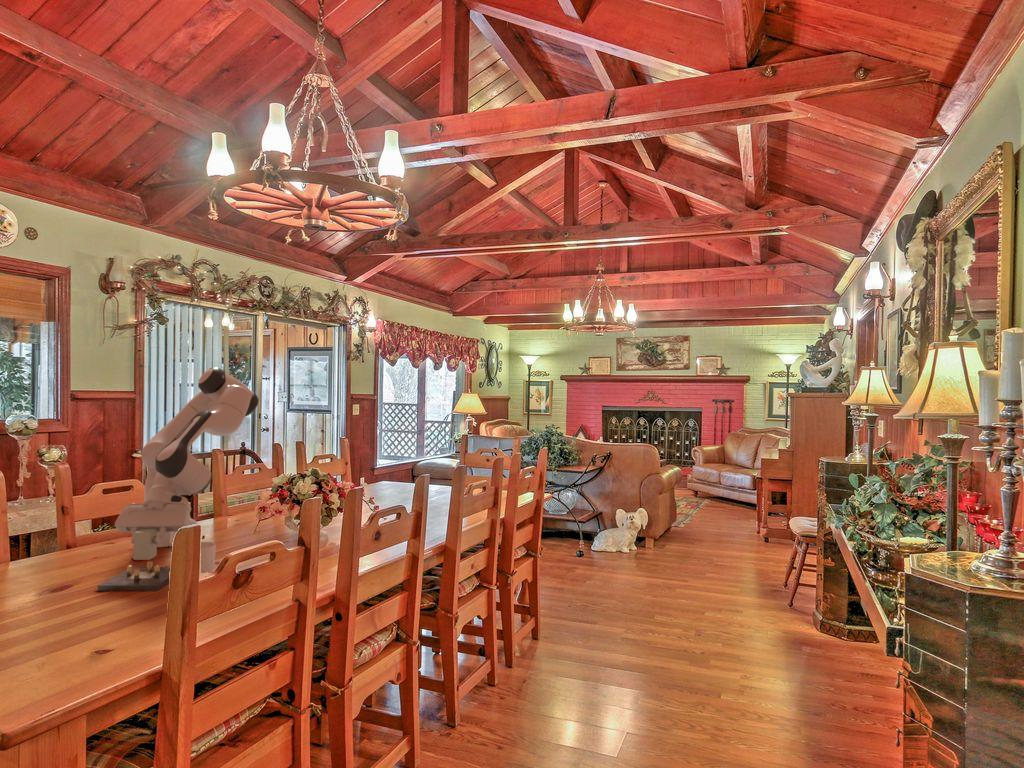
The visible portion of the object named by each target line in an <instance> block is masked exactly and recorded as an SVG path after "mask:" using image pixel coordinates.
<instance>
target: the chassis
mask: <svg viewBox="0 0 1024 768" xmlns="http://www.w3.org/2000/svg"><path fill="white" fill-rule="evenodd" d="M170 567H171V566H161V565H160V564H156V565H154V566H153V561H150V560H149V561H147V563H146V566H133V564H129V565H128V564H127V565H126V569H125V570H123V571H121V572H119V573H118V574H115V575H114V576H112V577H111V578H108V579H107V580H105V581H104V582H102V583H100V584H98V585H97V592H103V591H104V592H111V591H110V590H114V591H115V590H116V591H115V592H121V591H120V590H124V591H123V592H125V590H143V592H151V591H153V592H155V591H156V592H157V591H158V590H160V589H162V588H163V587H164V586H166V585H167V584H168V583H170V582H169V571H170ZM106 590H107V591H106ZM108 590H109V591H108ZM147 590H148V591H147ZM114 591H113V592H114Z"/></svg>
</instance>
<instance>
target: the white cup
mask: <svg viewBox="0 0 1024 768" xmlns="http://www.w3.org/2000/svg"><path fill="white" fill-rule="evenodd" d="M200 542H201V573H206V572H208V573H212V572H213V573H214V568H215V561H216V559H215V558H216V546H217V545H216V544H217V543H216V542H213V541H200ZM209 575H210V574H209ZM205 577H206V576H205Z"/></svg>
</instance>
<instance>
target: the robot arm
mask: <svg viewBox="0 0 1024 768" xmlns="http://www.w3.org/2000/svg"><path fill="white" fill-rule="evenodd" d="M197 384H198V385H197V386H198V389H199V390H200V391H199V392H198V393H197V394H196V395H195V396H193V397H192V398H191V399H190V400H189V401H188V402H187V403H186V404H185V405H184V406H183V408H182V409H181V410H179V412H178V413H177V414H176V415H175V416H174V417H173V418H172V419H170V420H169V421H168V422H167V424H165V425H164V426H163V427H162V428H161V429H160V430H159V431H158V432H156V434H155V435H154V436H152V438H151V439H150V440H149V441H147V443H145V445H144V446H143V448H142V450H141V454H140V455H141V460H142V462H143V464H144V465H145V466H146V467H148V468H147V474H146V478H145V481H144V482H145V483H144V496H143V497H144V501H143V503H135V502H134V503H133V502H132V503H129V504H127V505H125V506H123V508H122V510H121V512H120V514H119V515H118V517H117V518H116V520H115V522H114V526H115V528H116V529H117V531H118V532H121V533H131V536H132V537H131V539H130V543H131V544H132V545H134V532H136V531H138V530H141V529H157V536H153V539H152V542H153V544H157V548H167V547H168V546H169V547H173V546H172V542H173V538H174V535H175V533H176V532H177V531H178V529H179V528H181V527H183V526H188V525H192V524H197V525H198V522H197V521H196V520H195V519H194V518H191V514H190V513H191V511H192V506H191V504H190V502H189V500H188V499H187V498H186V497H185V496H189V495H190V496H191V495H195V494H200V493H203V492H205V491H206V489H207V488H208V487H209V485H210V484H211V481H212V476H213V474H212V471H211V470H210V469H209V468H208V467H207V466H205V465H204V464H205V463H202V462H201V461H200V460H198V459H197V458H196V456H194V455H193V454H192V453H191V451H190V447H191V446H192V445H193V443H194V442H195V441H196V440H197V439H199V437H200V436H201V435H202V434H203V433H206V434H209V435H213V436H218V437H225V436H230V435H232V434H234V433H235V432H236V431H238V430H239V428H240V426H241V424H242V422H243V421H244V418H245V417H248V416H249V415H251V414H252V413H253V412H254V411H255V409H256V408H257V407H258V405H259V401H260V400H259V397H258V395H257V394H256V393H255V392H254V391H252V390H251V389H250V388H249V387H248V386H247V385H246V384H244V383H243V382H242V381H241V380H239V379H237V378H235V377H234V376H232V375H231V374H230V373H228V372H226V371H225V370H224V369H222V368H220V367H217V366H214V367H210V368H209V369H207V370H206V371H205V372H203V373H202V374H201V376H200V378H199V379H198V382H197ZM201 533H202V538H201V539H204V538H205V537H206V534H205V533H203V532H201ZM203 536H204V538H203Z"/></svg>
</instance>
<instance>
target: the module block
mask: <svg viewBox="0 0 1024 768" xmlns="http://www.w3.org/2000/svg"><path fill="white" fill-rule="evenodd" d="M153 536H157V529H141V530H138V531H136V532H134V544H133V557H132V558H133V560H135V561H137V560H138V561H140V560H141V561H144V560H149V561H150V560H151V559H153V558H155V557H156V556H157V555H158V553H157V552H158V549H157V548H158V547H157V544H153V542H152V539H153Z"/></svg>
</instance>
